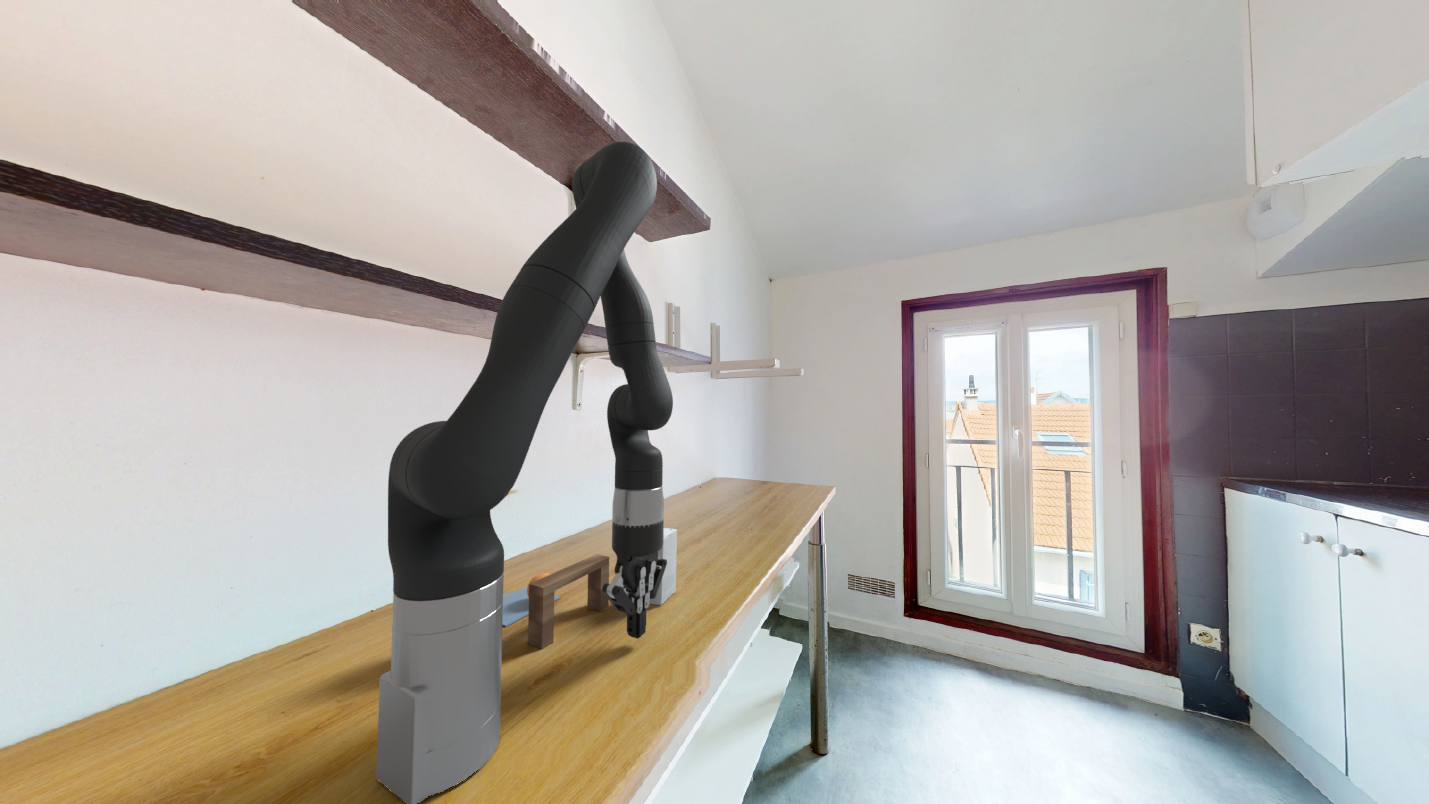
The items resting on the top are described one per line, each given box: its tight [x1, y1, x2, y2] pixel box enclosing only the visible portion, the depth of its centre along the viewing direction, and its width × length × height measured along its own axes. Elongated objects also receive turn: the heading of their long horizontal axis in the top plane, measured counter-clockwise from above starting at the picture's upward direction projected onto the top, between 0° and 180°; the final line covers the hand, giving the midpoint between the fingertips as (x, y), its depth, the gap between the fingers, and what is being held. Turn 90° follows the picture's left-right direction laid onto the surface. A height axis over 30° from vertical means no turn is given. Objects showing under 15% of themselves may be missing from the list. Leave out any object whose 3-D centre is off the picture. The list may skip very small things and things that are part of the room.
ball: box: [526, 572, 558, 597], centre depth 70 cm, size 5×5×5 cm
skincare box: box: [649, 527, 678, 606], centre depth 73 cm, size 6×4×12 cm
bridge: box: [527, 553, 610, 650], centre depth 64 cm, size 3×14×9 cm, turn 154°
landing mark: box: [502, 586, 562, 627], centre depth 70 cm, size 11×11×1 cm
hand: (636, 634), depth 58 cm, fingers closed
